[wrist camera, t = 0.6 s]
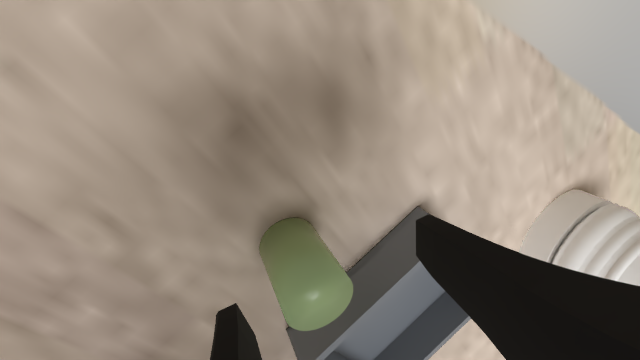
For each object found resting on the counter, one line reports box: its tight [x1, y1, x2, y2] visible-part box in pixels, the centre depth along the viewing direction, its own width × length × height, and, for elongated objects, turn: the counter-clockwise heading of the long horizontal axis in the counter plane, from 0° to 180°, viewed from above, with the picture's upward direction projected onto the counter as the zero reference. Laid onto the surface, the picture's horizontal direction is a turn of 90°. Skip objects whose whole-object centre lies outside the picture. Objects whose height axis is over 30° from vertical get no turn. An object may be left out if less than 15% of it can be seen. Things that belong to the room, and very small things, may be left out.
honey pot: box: [519, 190, 640, 286], centre depth 33 cm, size 13×13×18 cm
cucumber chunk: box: [259, 218, 353, 331], centre depth 20 cm, size 4×4×6 cm
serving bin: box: [286, 206, 471, 360], centre depth 29 cm, size 16×14×4 cm
